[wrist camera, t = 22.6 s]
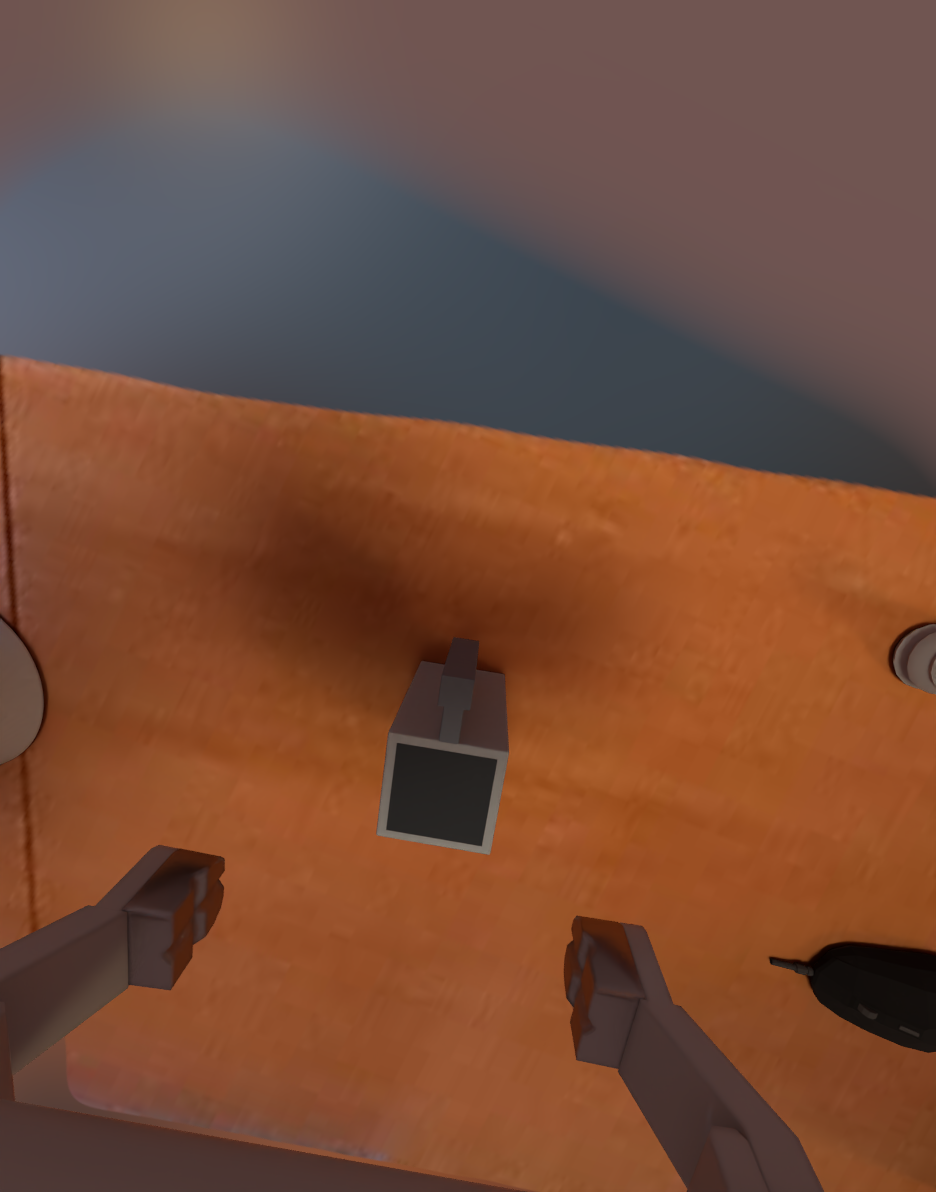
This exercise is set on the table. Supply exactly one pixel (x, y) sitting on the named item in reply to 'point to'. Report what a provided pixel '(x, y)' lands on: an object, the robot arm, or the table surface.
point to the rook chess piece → (917, 659)
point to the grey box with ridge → (447, 755)
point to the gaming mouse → (878, 991)
